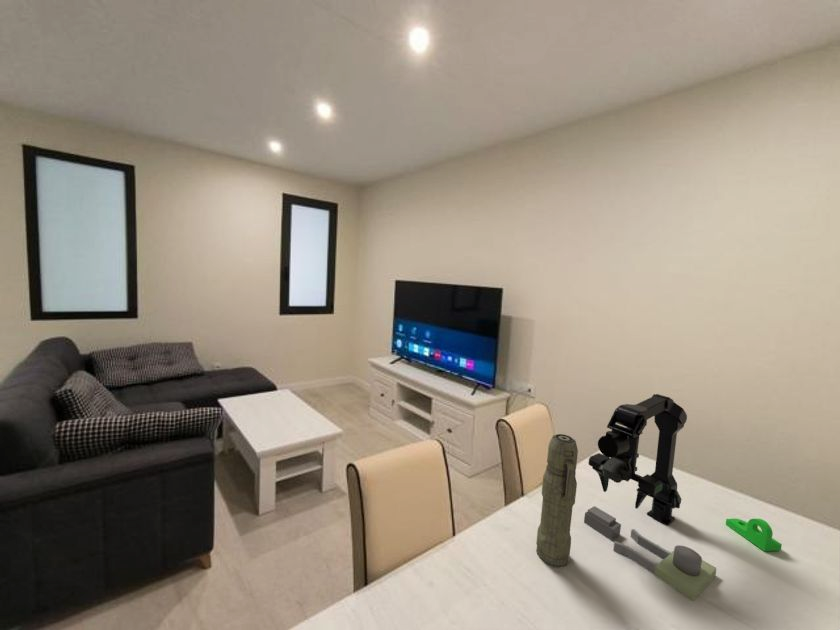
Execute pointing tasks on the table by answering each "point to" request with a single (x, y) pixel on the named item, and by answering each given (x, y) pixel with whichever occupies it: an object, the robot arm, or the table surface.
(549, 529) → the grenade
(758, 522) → the mechanical part
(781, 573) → the table surface
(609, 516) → the two tier gray step
